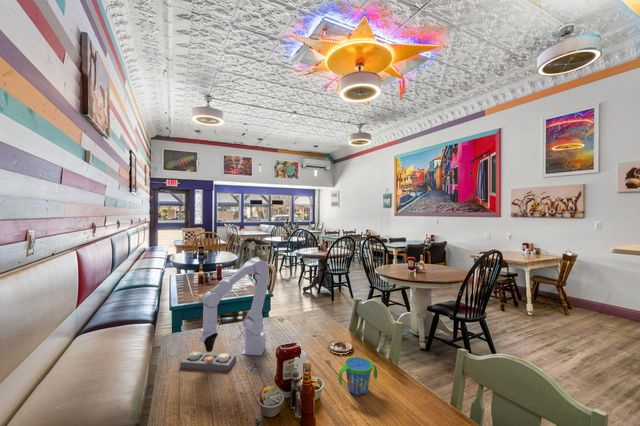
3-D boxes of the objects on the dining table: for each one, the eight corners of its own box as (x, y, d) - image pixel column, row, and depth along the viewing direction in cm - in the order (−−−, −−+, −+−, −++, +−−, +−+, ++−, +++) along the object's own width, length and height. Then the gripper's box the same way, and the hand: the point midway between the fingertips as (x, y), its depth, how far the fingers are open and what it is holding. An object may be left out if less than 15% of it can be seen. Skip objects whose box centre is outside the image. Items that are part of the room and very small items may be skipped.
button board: (236, 360, 131) (236, 354, 131) (228, 371, 122) (228, 365, 122) (191, 357, 132) (191, 352, 132) (180, 367, 123) (180, 362, 123)
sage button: (201, 356, 130) (202, 351, 130) (196, 361, 125) (197, 356, 125) (192, 356, 130) (192, 351, 130) (187, 361, 125) (187, 356, 125)
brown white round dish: (356, 345, 150) (357, 337, 150) (353, 359, 135) (353, 350, 135) (328, 341, 153) (329, 333, 153) (322, 355, 139) (322, 346, 139)
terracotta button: (215, 361, 129) (216, 356, 129) (211, 366, 125) (211, 361, 125) (206, 360, 129) (206, 355, 129) (201, 365, 125) (201, 360, 125)
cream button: (230, 358, 128) (230, 353, 128) (226, 363, 124) (226, 358, 124) (220, 358, 129) (220, 353, 129) (216, 363, 124) (216, 358, 124)
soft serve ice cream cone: (289, 394, 107) (290, 350, 107) (281, 382, 115) (282, 341, 115) (309, 388, 111) (310, 346, 111) (301, 377, 118) (302, 338, 118)
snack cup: (371, 380, 118) (372, 354, 118) (382, 396, 108) (383, 368, 108) (334, 384, 114) (334, 358, 114) (342, 401, 104) (343, 372, 104)
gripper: (208, 313, 135) (208, 343, 135) (192, 325, 120) (191, 358, 120) (223, 314, 134) (223, 344, 134) (209, 326, 120) (208, 359, 120)
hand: (209, 351), depth 127 cm, fingers closed
